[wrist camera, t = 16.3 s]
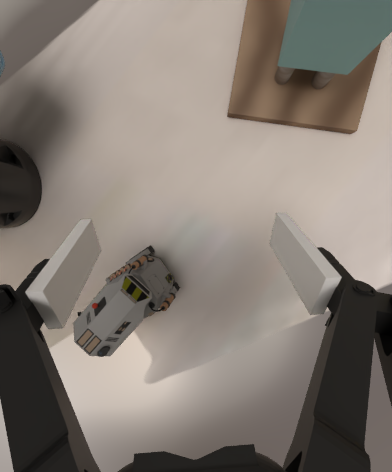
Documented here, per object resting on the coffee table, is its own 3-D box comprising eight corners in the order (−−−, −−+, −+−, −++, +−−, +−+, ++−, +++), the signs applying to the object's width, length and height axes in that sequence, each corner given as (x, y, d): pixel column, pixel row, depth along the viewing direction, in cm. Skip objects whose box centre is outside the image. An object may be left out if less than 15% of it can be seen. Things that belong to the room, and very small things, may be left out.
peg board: (227, 116, 34) (229, 97, 27) (249, -7, 31) (256, -61, 24) (350, 133, 32) (383, 117, 26) (385, 6, 29) (431, -48, 23)
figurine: (107, 274, 40) (41, 318, 25) (158, 240, 38) (119, 265, 23) (136, 315, 40) (89, 380, 26) (188, 283, 38) (168, 335, 24)
